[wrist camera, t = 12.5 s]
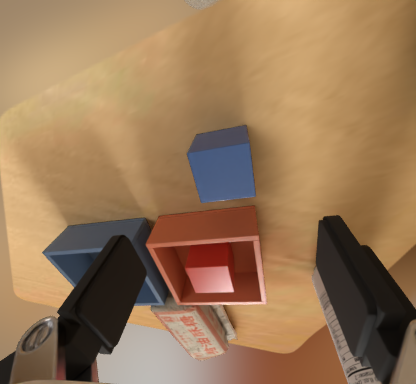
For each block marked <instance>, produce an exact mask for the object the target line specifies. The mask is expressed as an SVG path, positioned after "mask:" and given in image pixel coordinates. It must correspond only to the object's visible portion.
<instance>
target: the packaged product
mask: <svg viewBox="0 0 416 384" xmlns="http://www.w3.org/2000/svg"><path fill="white" fill-rule="evenodd" d="M151 311H152V312H153V313H154V314H155V315H156V317H157V318H158V319H159V320H160V321H161V323H162V324H163V325H164V326H165V327H166V328H167V329H168V331H169V332H170V333H171V334H172V336H173V337H175V339H176V340H177V341H178V342H179V343H180V344H181V346H183V348H184V349H185V350H186V351H187V352H188V353H189V355H190V356H191V357H194V358H195V359H198V360H200V361H201V360H207V359H209V358H212V357H216V356H219V355H222V354H224V353H226V351H227V350H228V346H229V345H228V340H232V338H234V339H237V333H236V331H235V330H234V328H233V326H232V325H231V323H230V321H229V319H228V316H227V314H226V312H225V310H224V307H223V305H177V302H176V301H175V299H174V297H173V295H172V293H171V291H170V290H169V291H168V295H167V298H166V302H165V305H151ZM237 340H238V339H237Z"/></svg>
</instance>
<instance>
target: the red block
mask: <svg viewBox="0 0 416 384" xmlns="http://www.w3.org/2000/svg"><path fill="white" fill-rule="evenodd" d="M185 269H186V272H187V274H188V276H189V279H190V281H191V283H192V286H193V288H194V290H195V293H216V292H234V255H233V251H232V246H231V242H222V243H209V244H196V245H190V249H189V254H188V258H187V262H186V266H185Z"/></svg>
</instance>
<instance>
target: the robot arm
mask: <svg viewBox="0 0 416 384" xmlns="http://www.w3.org/2000/svg"><path fill="white" fill-rule="evenodd" d="M316 266H317V270H318V272H319V275H320V277H321V280H322V282H323V285H324V287H325V290H326V292H327V295H328V297H329V300H330V302H331V305H332V307H333V310H334V312H335V315H336V317H337V320H338V322H339V325H340V327H341V330H342V332H343V335H344V337H345V340H346V342H347V345H348V347H349V350H350V352H351V354H352V355H353V356H354V357H358V359H359V361H360V363H361V366H362V367H371V368H372V370H373V372H374V374H375V377H376V379H377V380H378V381H380V384H416V309H415V308H414V306H413V305H412V303H411V302H410V301H409V299H408V298H407V297H406V295H405V294H404V293H403V291H402V290H401V289H400V287H399V286H398V285H397V283H396V282H395V280H394V279H393V278H392V277H391V275H390V274H389V273H388V271H387V270H386V268H385V267H384V265H383V264H382V263H381V261H380V260H379V259H378V257H377V256H376V255H375V253H374V252H373V251H372V249H371V248H370V247H368V246H367V245H360V244H359V242H358V241H357V240H356V238H355V237H354V235H353V234H352V232H351V231H350V229H349V228H348V227H347V225H346V224H345V222H344V221H343V219H342V218H341V217H340V216H339V215H336V216H325V217H324V218H323V220H319V225H318V239H317V253H316ZM146 276H147V270H146V268H145V266H144V265H143V263H142V261H141V259H140V257H139V256H138V254H137V252H136V250H135V248H134V247H133V245H132V243H131V241H130V239H129V238H128V237H126V236H125V235H114V236H112V237H111V238H110V239H109V241H108V242H107V244H106V245H105V246H104V248H103V249H102V250H101V252H100V253H99V255H98V256H97V257H96V259H95V260H94V261H93V263H92V264H91V266H90V267H89V268H88V270H87V271H86V273H85V274H84V275H83V277H82V278H81V279H80V281H79V282H78V284H77V285H76V286H75V288H74V289H73V290H72V292H71V293H70V295H69V296H68V297H67V299H66V300H65V301H64V303H63V304H62V306H61V307H60V308H59V310H58V312H57V313H58V314H59V315H60V316H59V317H58V319H57V318H55V317H53V316H49V317H45V318H43V319H41V320H39V321H38V322H36V323H35V324H34V325H32V326H31V327H30V328H29V329H28V330H27V331H26V332H25V334H24V335H23V336H22V338H21V339H20V341H19V342H18V345H17V348H16V351H15V352H13V353H12V354H10V355H9V356H7V357H6V358H4V359H3V360H1V361H0V384H109V383H99V379H98V371H97V362H96V357H97V355H98V353H100V354H111V353H112V351H113V349H114V347H115V346H116V345H117V344H118V342H119V340H120V337H121V335H122V333H123V330H124V328H125V326H126V323H127V321H128V319H129V316H130V314H131V312H132V309H133V307H134V304H135V302H136V300H137V297H138V295H139V293H140V290H141V288H142V286H143V283H144V281H145V278H146Z"/></svg>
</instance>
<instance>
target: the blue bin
mask: <svg viewBox="0 0 416 384" xmlns="http://www.w3.org/2000/svg"><path fill="white" fill-rule="evenodd" d="M151 232H152V231H151V229H150V227H149V225H148V223H147V221H146V218H137V219H128V220H118V221H109V222H100V223H91V224H82V225H73V226H68V227H67V228H66V229H65V230H64V231H63V232H62V233H61V234H60V235H59V236H58V237H57V238H56V239H55V240H54V241H53V242H52V243H51V244H50V245H49V246H48V247H47V248H46V249H45V250H44V251H43V252H42V253H43V254H44V255H45V256H46V258H47V259H48V260H49V261H50V262H51V263H52V264H53V265H54V266H55V267H56V268H57V269H58V270H59V272H60V273H61V274H62V275H63V276H64V277H65V278H66V279H67V280H68V281H69V282H70V283H71V284H72V285H73V287H74V288H75V286H76V285H77V284H78V282H79V281H80V279H81V278H82V277H83V275H84V274H85V273H86V271H87V270H88V268H89V267H90V266H91V264H92V263H93V261H94V260H95V259H96V257H97V256H98V255H99V253H100V252H101V250H102V249H103V248H104V246H105V245H106V244H107V242H108V241H109V239H110V238H111V237H112V236H114V235H125V236H126V237H128V238H129V239H130V241H131V243H132V245H133V247H134V248H135V250H136V252H137V254H138V256H139V257H140V259H141V261H142V263H143V265H144V266H145V268H146V270H147V276H146V278H145V281H144V283H143V286H142V288H141V290H140V293H139V295H138V297H137V300H136V302H135V304H134V306H144V305H165V302H166V298H167V295H168V291H169V288H168V286H167V284H166V282H165V280H164V278H163V276H162V274H161V273H160V271H159V269H158V267H157V265H156V263H155V261H154V259H153V258H152V256H151V254H150V252H149V250H148V248H147V246H146V242H147V240H148V238H149V236H150V234H151Z"/></svg>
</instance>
